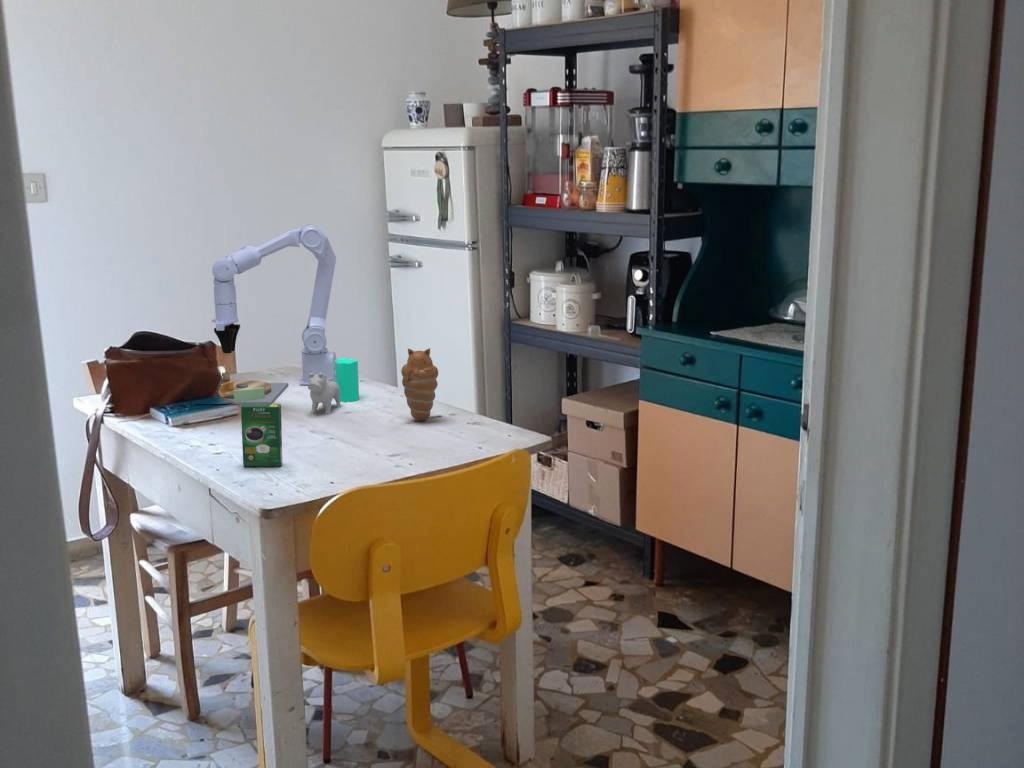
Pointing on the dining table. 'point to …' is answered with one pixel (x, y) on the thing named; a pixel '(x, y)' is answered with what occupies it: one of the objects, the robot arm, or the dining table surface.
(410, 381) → the cat ice cream
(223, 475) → the dining table surface
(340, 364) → the candle
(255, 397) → the pale green block
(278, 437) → the coffee box
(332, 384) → the dog figurine
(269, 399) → the grey flat square board
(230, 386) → the dial
